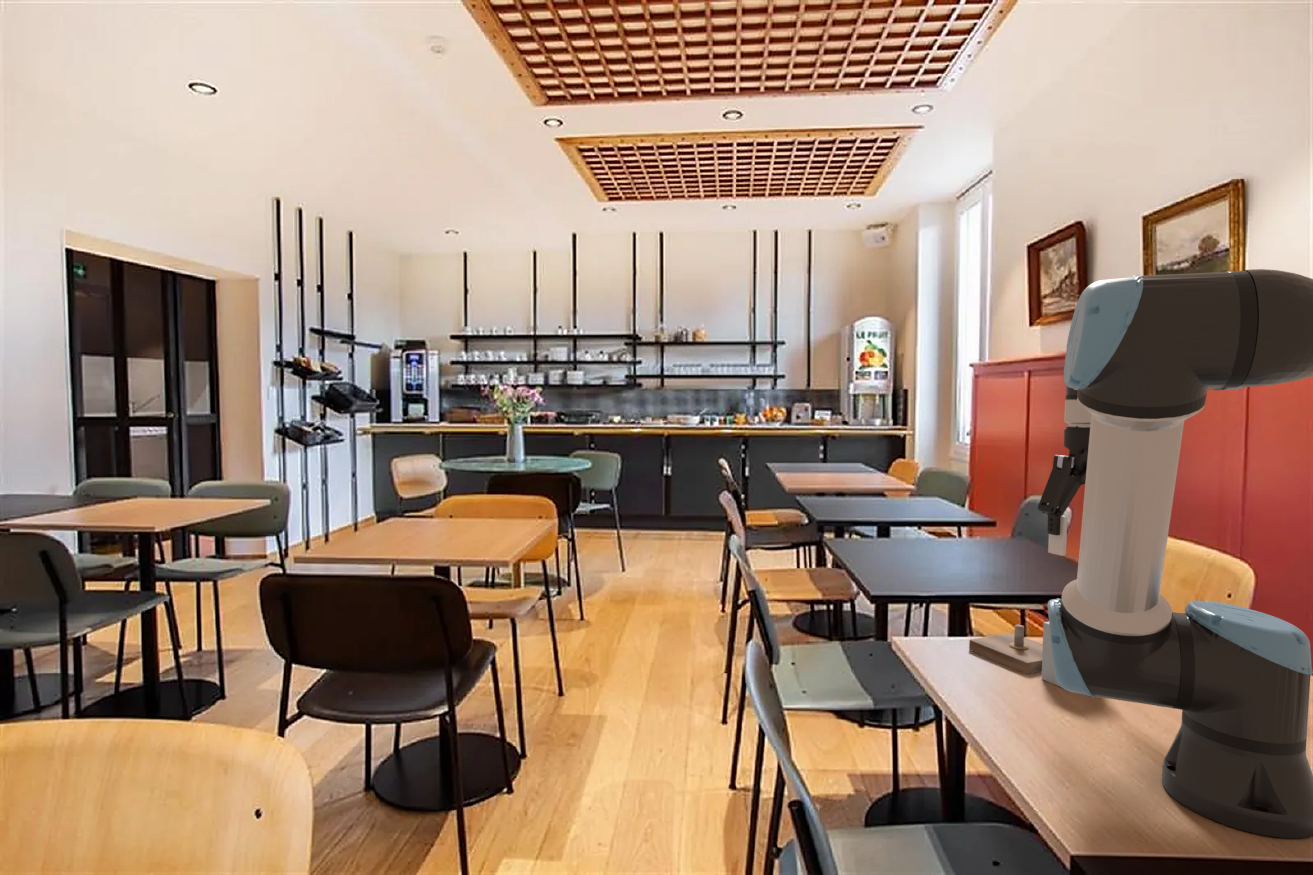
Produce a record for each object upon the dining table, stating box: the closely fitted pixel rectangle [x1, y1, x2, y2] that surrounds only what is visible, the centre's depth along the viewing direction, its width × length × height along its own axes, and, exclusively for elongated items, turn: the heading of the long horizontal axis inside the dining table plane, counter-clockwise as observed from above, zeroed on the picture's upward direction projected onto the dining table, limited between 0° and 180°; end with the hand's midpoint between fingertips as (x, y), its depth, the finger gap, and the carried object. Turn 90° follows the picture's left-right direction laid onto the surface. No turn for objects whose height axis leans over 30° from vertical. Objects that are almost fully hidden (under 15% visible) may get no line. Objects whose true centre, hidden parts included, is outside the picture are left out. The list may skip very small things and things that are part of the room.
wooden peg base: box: [968, 624, 1043, 675], centre depth 134 cm, size 11×13×6 cm
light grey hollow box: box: [1041, 621, 1062, 688], centre depth 122 cm, size 6×6×10 cm
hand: (1085, 551), depth 121 cm, fingers open, 13 cm apart
